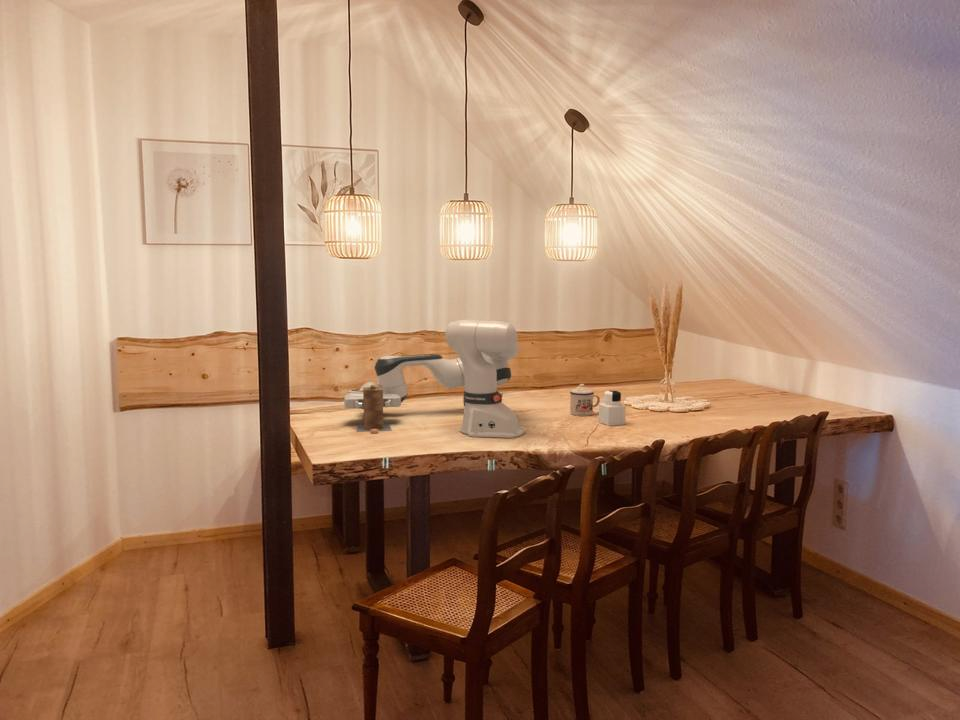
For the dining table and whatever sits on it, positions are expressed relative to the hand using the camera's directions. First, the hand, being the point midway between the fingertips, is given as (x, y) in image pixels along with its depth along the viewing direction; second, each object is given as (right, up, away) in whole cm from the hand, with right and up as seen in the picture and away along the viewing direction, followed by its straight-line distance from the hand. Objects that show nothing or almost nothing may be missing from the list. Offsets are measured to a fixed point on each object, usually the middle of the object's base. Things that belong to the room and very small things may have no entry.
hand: (373, 405), depth 287 cm
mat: (0, -8, +2) cm, 9 cm away
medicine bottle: (+86, -7, +11) cm, 87 cm away
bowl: (+1, -9, -6) cm, 11 cm away
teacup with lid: (+78, -5, +28) cm, 83 cm away
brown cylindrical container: (0, -8, +2) cm, 8 cm away
